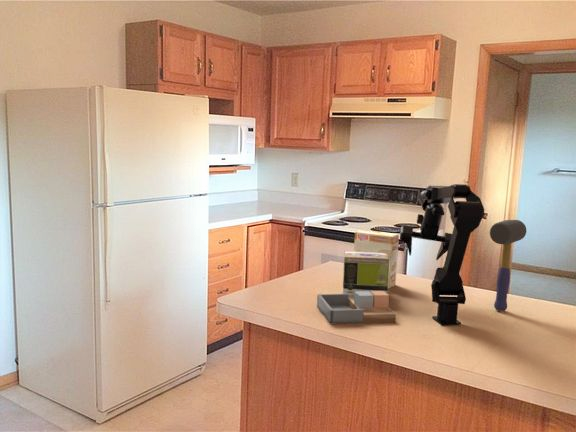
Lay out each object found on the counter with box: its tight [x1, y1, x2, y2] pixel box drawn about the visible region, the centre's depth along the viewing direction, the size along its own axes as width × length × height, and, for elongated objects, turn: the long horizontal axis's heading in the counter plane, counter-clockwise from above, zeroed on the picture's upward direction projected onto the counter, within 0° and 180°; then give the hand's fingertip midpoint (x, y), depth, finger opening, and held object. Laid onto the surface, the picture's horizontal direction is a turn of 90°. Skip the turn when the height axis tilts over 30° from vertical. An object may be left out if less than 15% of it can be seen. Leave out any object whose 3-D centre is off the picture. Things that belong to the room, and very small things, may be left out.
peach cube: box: [370, 291, 390, 308], centre depth 166 cm, size 4×4×4 cm
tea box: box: [342, 250, 389, 298], centre depth 184 cm, size 15×10×15 cm, turn 84°
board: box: [348, 298, 397, 324], centre depth 166 cm, size 16×10×2 cm, turn 11°
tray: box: [316, 293, 364, 325], centre depth 164 cm, size 16×10×4 cm, turn 11°
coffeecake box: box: [353, 229, 400, 290], centre depth 200 cm, size 15×7×20 cm, turn 58°
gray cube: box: [354, 291, 374, 308], centre depth 165 cm, size 4×4×4 cm
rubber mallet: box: [489, 219, 527, 313], centre depth 172 cm, size 12×8×30 cm, turn 133°
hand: (423, 257), depth 186 cm, fingers open, 9 cm apart
